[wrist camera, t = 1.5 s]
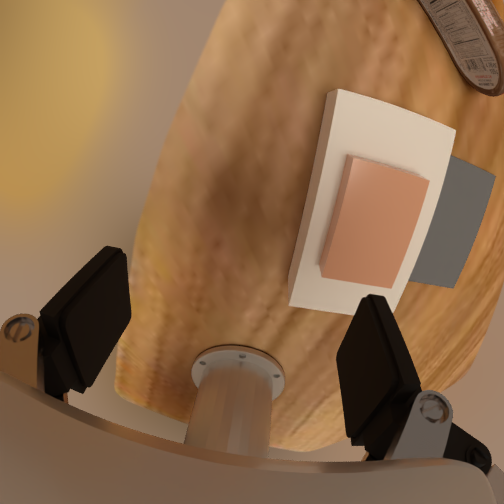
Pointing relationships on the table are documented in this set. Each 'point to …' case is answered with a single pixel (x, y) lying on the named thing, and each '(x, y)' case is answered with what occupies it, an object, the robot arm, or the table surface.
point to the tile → (372, 222)
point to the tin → (472, 40)
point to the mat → (453, 224)
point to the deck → (328, 181)
